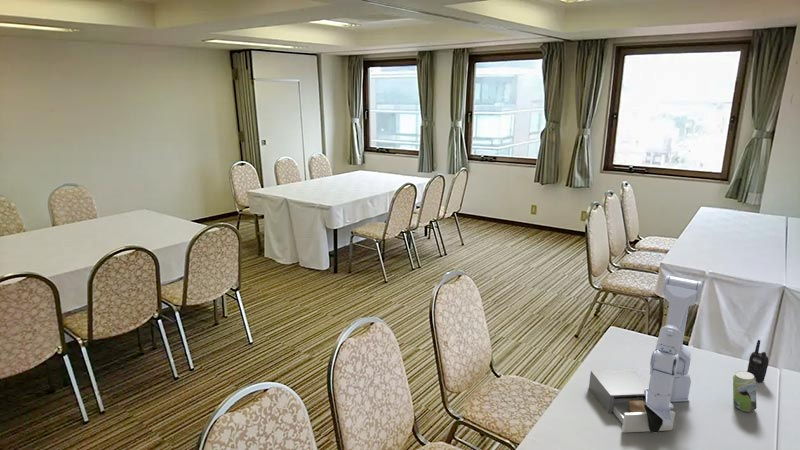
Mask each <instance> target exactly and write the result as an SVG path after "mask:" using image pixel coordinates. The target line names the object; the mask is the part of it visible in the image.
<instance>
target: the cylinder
mask: <svg viewBox="0 0 800 450" xmlns="http://www.w3.org/2000/svg"><path fill="white" fill-rule="evenodd" d="M644 405H646V403H645V402H644V401H642V400H639V399H630V400H629V404H628V411H627V413H633V412H646V410H645V407H644Z"/></svg>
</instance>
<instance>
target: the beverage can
mask: <svg viewBox="0 0 800 450" xmlns="http://www.w3.org/2000/svg"><path fill="white" fill-rule="evenodd" d="M732 376H733V377H732V380H733V381H732V395H733V396H732V401H733V402H732V403H733V406H734V407H736V408H737V409H739V410H740V411H743V412H752V411H754V410H756V409H757V392H758V391H757V388H758V387H757V383H758V382H757V381H756V378H755V377H754V375H753V374H752V373H749V372H747V370H746V371H745V370H739V371H736V372H735V373H734V374H733V375H732Z"/></svg>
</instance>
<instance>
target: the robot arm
mask: <svg viewBox="0 0 800 450" xmlns="http://www.w3.org/2000/svg"><path fill="white" fill-rule="evenodd" d="M702 291H703V282H702V281H701V280H694V279H688V278H683V277H678V276H674V275H673V276H672V275H670V274H668V275H666V277H665V278H664V281H663V287H662V294H663V295H664V299H665V300H666V301H667V302H668V303H669V304H668V310H667V318H666V323H665V325H664V326H662V327H660V329H659V333H658V337H657V342H656V345H655V349H653V351H652V353H651V357H650V360H649V361H650V362H649V365H650V366H649V367H650V368H649V369H650V370H649V375H650V376H649V383H648V385H649V389H645V390H644V395H645V396H646V405H644V407H645V410H646V413H647V417H648V426H649V430H650V431H649V432H650V433H659V430H660V428H661V426H662V424H663V425H664V426H671V425H672V419H671V415H670V411H671V409H674V404H673V403H675V402H676V403H677V402H689V401H690V399H689V395H690V389H691V384H692V383H691V381H692V380H691V377H690V374H689V370H690V365H691V357H692V356H691V351H690V350H689V349H688V348H687V347H685V346H684V345H683V344H684V338H685V331H686V324H687V319H688V315H689V308H690V307H692V306H695V305H696V303H699V301H701V300H700V299H701V296H702Z"/></svg>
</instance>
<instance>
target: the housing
mask: <svg viewBox="0 0 800 450" xmlns="http://www.w3.org/2000/svg"><path fill="white" fill-rule="evenodd" d="M589 373H590V374H589V375H590V376H589V384H588V388H589V389H590V391H591V392H592V393H593V395H594V396H595V397H596V399H597V400H598V401H599V403H600V404H601V406H602V407H603V408H604V409H605V410H606V412H607V413H608V414H612V413H613V411H612V410H613V403H614V398H624V397H643V398H644V399H645V400H646V396H645V395H644V390H645V389H649V383H648V382H647V381H646V380H645V379H644V378H643V377H642V376H641V375H640V374H639V373H638V372H637V371H636V370H635V369H634V368H624V369H623V368H622V369H602V370H601V369H599V370H598V369H596V370H594V369H593V370H590V372H589Z"/></svg>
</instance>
